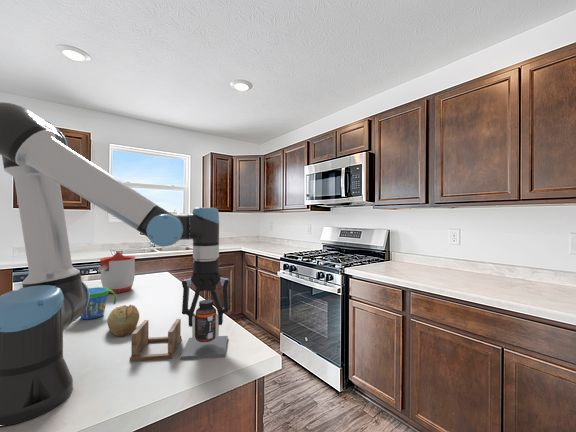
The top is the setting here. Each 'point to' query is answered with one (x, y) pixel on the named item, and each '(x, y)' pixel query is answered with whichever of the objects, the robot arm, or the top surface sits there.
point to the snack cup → (96, 302)
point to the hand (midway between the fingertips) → (205, 336)
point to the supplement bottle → (205, 321)
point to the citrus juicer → (117, 272)
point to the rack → (141, 340)
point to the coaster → (205, 348)
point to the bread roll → (123, 320)
